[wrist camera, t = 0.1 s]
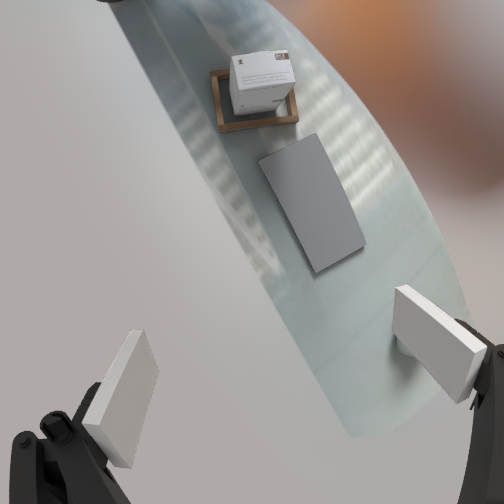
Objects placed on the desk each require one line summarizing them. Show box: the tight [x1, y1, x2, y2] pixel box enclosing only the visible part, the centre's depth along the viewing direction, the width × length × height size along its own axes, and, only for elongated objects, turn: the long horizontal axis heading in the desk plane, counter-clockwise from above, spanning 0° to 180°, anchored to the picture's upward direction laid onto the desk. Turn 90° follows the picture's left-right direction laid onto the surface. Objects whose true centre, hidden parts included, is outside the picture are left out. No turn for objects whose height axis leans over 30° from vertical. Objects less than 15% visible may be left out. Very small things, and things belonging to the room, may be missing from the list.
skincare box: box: [229, 50, 296, 116], centre depth 30 cm, size 6×4×12 cm
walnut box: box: [210, 69, 299, 133], centre depth 35 cm, size 9×11×2 cm
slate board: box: [258, 133, 366, 273], centre depth 40 cm, size 18×9×1 cm, turn 30°
